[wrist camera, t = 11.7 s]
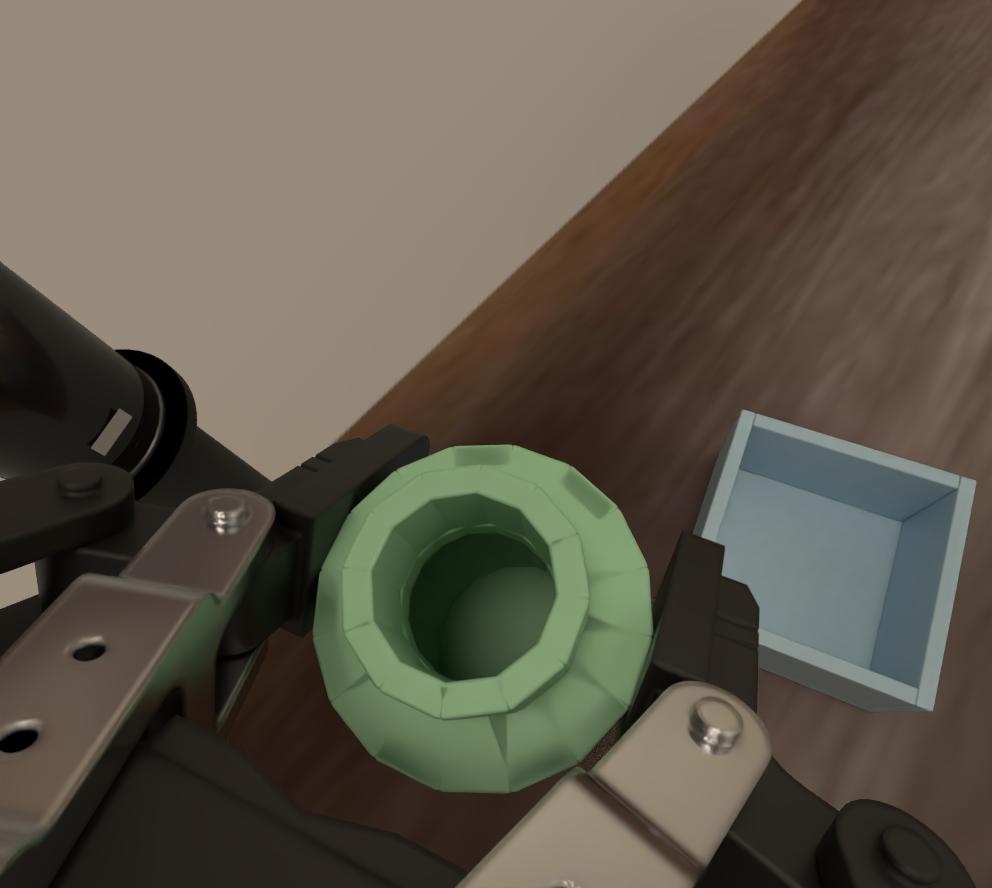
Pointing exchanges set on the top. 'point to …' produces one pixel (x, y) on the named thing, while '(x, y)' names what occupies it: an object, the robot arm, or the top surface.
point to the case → (840, 559)
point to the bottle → (483, 619)
